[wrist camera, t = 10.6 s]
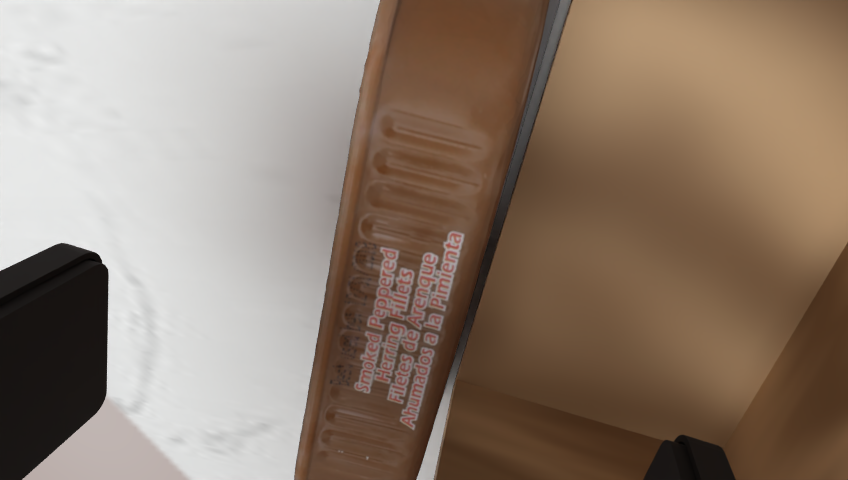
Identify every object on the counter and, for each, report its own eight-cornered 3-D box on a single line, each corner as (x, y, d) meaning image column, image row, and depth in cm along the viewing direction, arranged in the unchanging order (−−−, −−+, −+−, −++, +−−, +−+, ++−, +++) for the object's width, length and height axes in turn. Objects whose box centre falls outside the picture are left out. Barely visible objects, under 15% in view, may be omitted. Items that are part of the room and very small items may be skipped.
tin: (449, -110, 15) (357, -194, 7) (571, -81, 15) (605, -137, 7) (352, 359, 22) (251, 569, 14) (436, 384, 21) (379, 611, 14)
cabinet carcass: (727, 467, 21) (878, 866, 12) (453, 386, 22) (387, 702, 12) (1029, -24, 14) (2045, -17, 4) (608, -122, 15) (733, -292, 5)
